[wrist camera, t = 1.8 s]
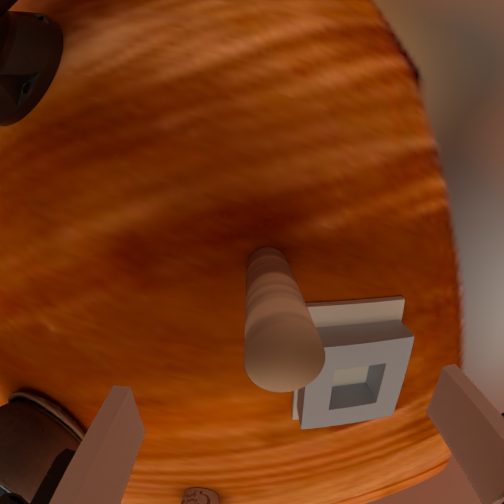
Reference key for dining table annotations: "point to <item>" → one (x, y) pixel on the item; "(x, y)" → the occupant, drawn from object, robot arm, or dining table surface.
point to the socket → (355, 362)
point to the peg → (278, 326)
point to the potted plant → (32, 441)
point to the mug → (200, 496)
